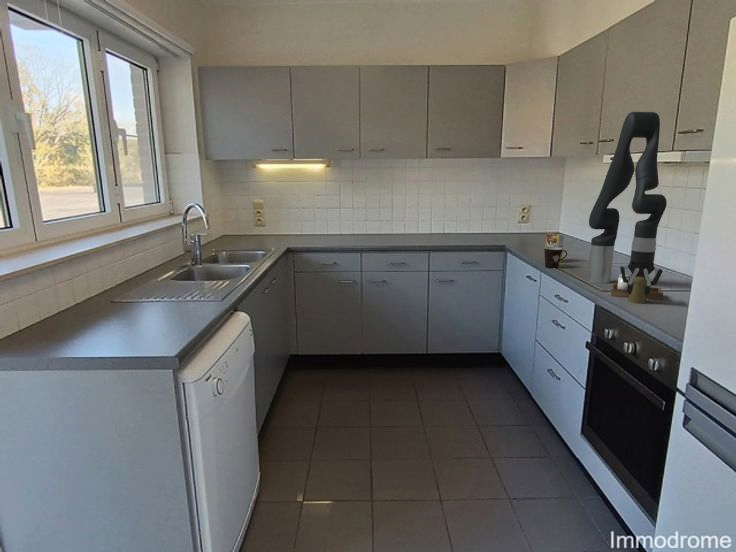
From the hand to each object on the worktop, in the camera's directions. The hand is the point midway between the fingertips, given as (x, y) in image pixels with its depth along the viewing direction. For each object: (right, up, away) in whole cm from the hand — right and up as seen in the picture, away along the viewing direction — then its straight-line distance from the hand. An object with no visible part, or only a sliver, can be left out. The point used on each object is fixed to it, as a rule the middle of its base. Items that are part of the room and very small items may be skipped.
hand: (637, 294), depth 171 cm
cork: (0, -4, +1) cm, 4 cm away
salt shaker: (0, -1, +10) cm, 10 cm away
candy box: (+2, +15, +83) cm, 84 cm away
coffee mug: (-4, +11, +68) cm, 68 cm away
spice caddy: (+4, -2, +9) cm, 10 cm away
